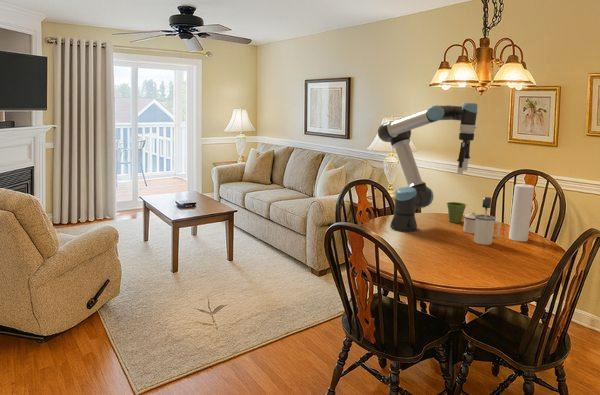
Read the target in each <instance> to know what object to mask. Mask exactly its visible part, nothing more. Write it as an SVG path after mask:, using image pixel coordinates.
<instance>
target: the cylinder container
mask: <svg viewBox="0 0 600 395" xmlns="http://www.w3.org/2000/svg"><path fill="white" fill-rule="evenodd" d="M534 191H535V186H534V185H532V184H525V183H523V184H522V183H517V184H514V191H513V199H512V207H511V216H510V222H509V223H510V224H509V233H508V239H510V240H512V241H515V242H527V241H529V240H528V239H529V231H530V223H531V217H532V210H533V209H532V208H533V200H534Z"/></svg>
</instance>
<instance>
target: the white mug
mask: <svg viewBox="0 0 600 395" xmlns="http://www.w3.org/2000/svg"><path fill="white" fill-rule="evenodd" d="M484 216H485V214H477V215H476V216H475V218H476V223H475V233H474V234H473V236H474V237H473V243H476V244H478V245H484V246H486V245H487V246H488V245H492V244H493V238H494V237H495V238H499V237H500V230H501V221H496V216H493V215H490V214H487V217H486V218H484ZM495 224H496V225H497V231H496V234H494V229H495Z"/></svg>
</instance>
